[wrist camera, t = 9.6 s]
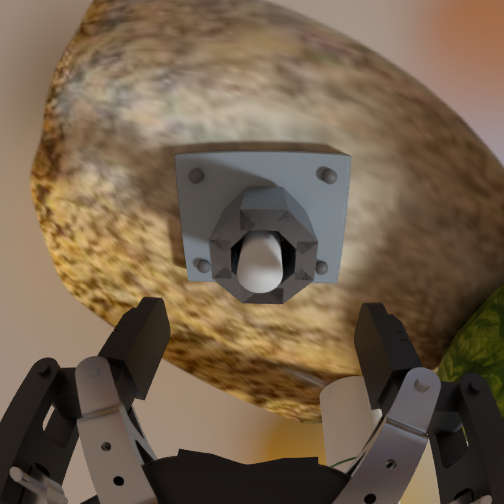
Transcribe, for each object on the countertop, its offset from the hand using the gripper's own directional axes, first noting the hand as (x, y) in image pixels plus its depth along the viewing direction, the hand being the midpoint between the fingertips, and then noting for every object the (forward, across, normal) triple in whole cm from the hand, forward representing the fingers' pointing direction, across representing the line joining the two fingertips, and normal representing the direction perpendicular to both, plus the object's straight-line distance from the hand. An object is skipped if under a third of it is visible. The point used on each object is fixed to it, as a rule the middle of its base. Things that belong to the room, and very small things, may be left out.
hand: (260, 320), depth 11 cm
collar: (+9, 0, 0) cm, 9 cm away
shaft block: (+12, 0, 0) cm, 12 cm away
